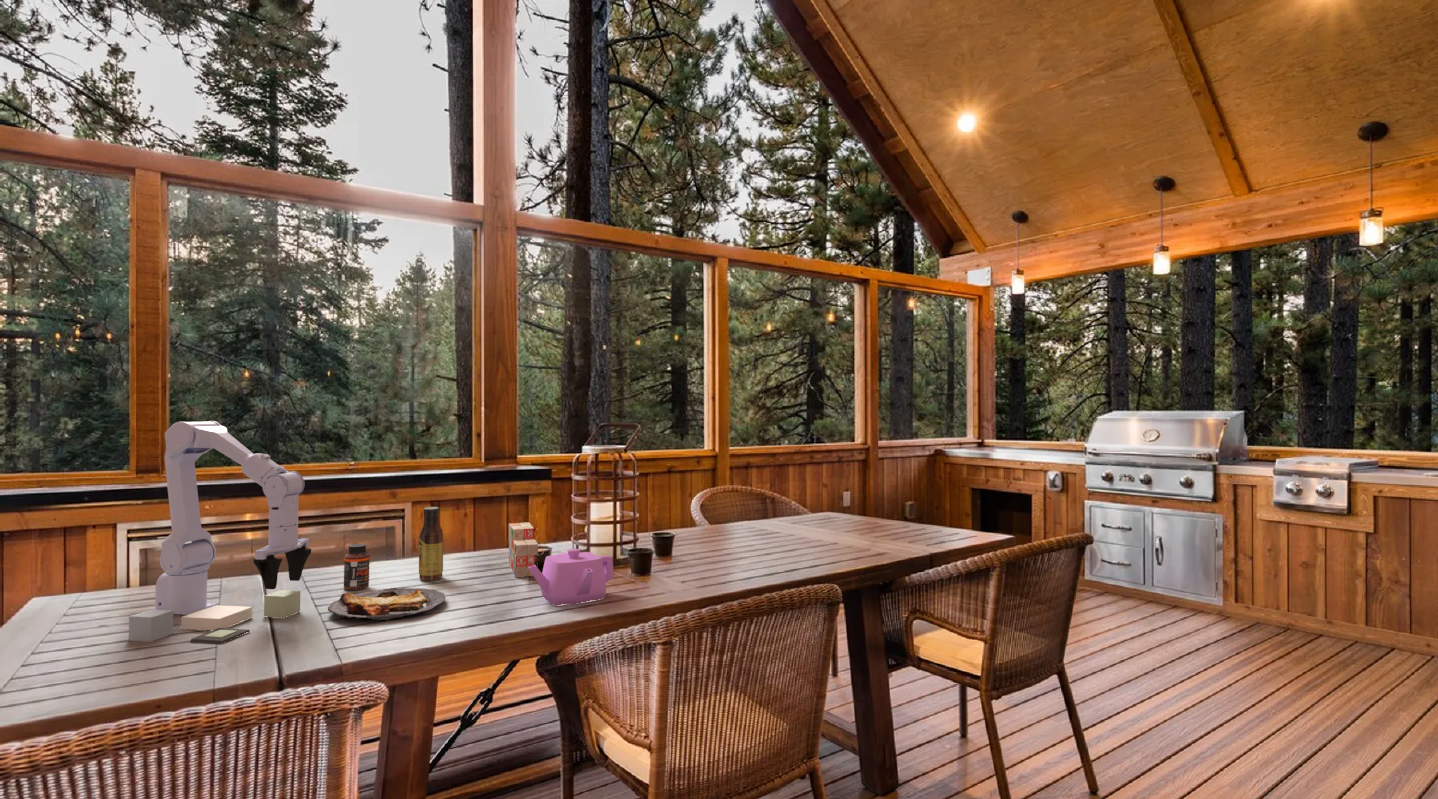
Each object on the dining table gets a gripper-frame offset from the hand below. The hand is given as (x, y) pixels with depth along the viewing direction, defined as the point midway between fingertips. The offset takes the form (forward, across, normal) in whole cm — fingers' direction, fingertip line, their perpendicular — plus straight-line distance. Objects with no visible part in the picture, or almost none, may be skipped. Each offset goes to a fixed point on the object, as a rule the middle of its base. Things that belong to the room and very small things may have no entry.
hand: (282, 584), depth 160 cm
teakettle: (+8, +23, -61) cm, 66 cm away
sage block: (+7, 0, 0) cm, 7 cm away
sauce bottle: (+7, +36, -16) cm, 40 cm away
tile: (+7, -16, +1) cm, 17 cm away
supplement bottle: (+7, +24, -2) cm, 25 cm away
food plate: (+8, +8, -21) cm, 24 cm away
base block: (+7, -8, +9) cm, 14 cm away
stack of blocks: (+7, +52, -36) cm, 63 cm away
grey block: (+7, -18, +15) cm, 24 cm away
